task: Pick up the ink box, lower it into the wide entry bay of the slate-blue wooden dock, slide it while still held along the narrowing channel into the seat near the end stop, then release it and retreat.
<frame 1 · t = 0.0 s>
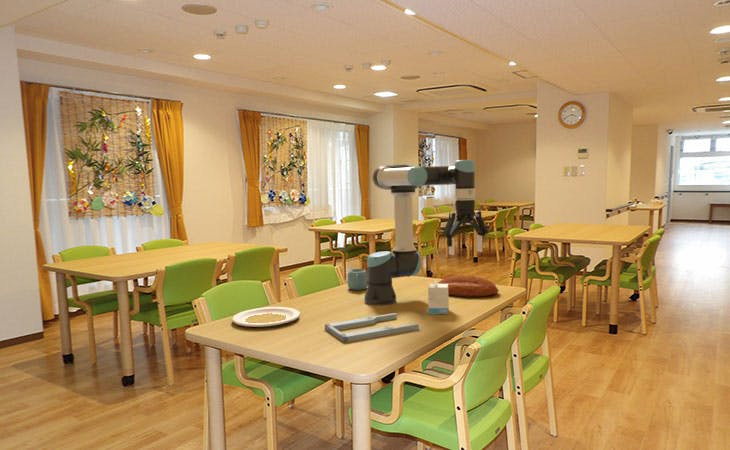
hand: (465, 253, 200), 28 cm above the table, fingers open, 13 cm apart
mug: (357, 289, 269), on the table
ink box: (438, 312, 219), on the table
plate: (266, 321, 214), on the table
bread: (466, 293, 254), on the table
dock: (373, 328, 197), on the table
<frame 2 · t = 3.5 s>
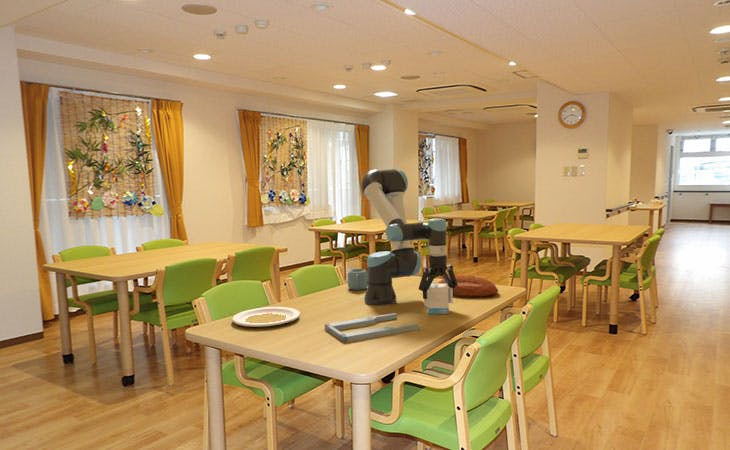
hand: (438, 304, 219), 3 cm above the table, fingers closed on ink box, 11 cm apart
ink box: (438, 312, 219), on the table, touching gripper
everything else where it was.
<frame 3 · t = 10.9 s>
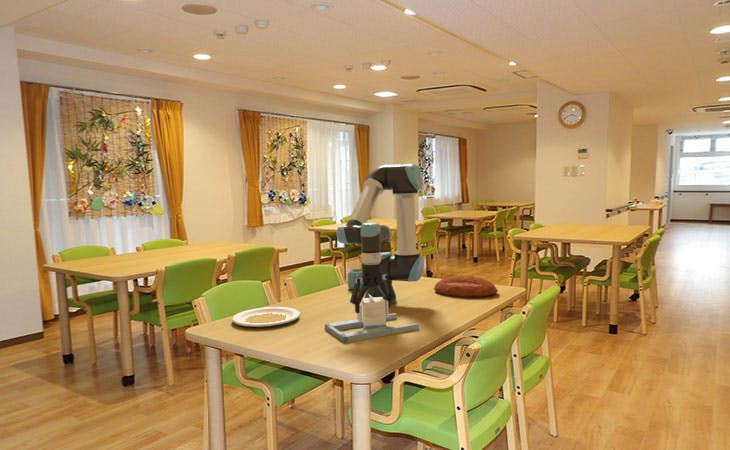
hand: (373, 318, 196), 4 cm above the table, fingers open, 11 cm apart
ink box: (374, 329, 197), resting in dock, touching gripper
everything else where it was.
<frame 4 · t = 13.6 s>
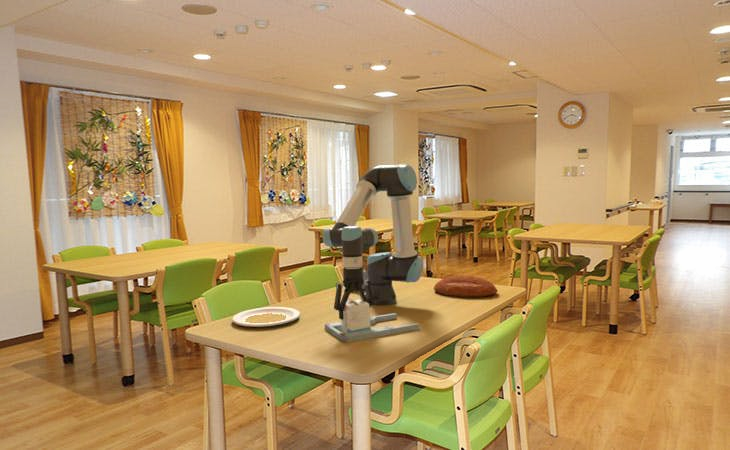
hand: (354, 325, 193), 3 cm above the table, fingers closed on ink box, 8 cm apart
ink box: (356, 333, 193), resting in dock, touching gripper
everything else where it was.
when the fingers open (2 cm above the table, at t = 13.9 s): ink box stays where it is, resting in dock.
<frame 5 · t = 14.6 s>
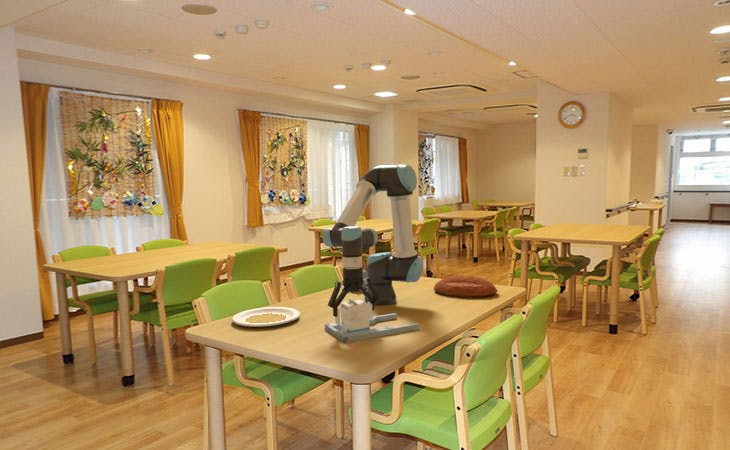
hand: (354, 322, 193), 4 cm above the table, fingers open, 13 cm apart
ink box: (355, 333, 193), resting in dock
everything else where it was.
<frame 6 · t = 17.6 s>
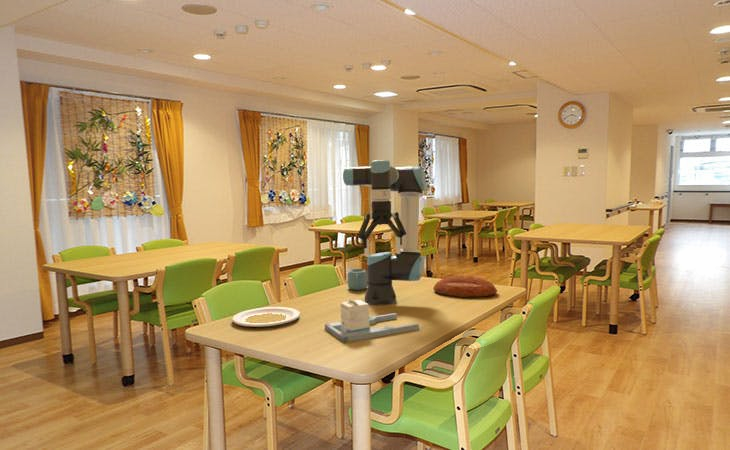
hand: (382, 255, 196), 29 cm above the table, fingers open, 13 cm apart
at the end: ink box inside the target area (1.0 cm from its centre), resting in dock; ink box tilted 0° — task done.
